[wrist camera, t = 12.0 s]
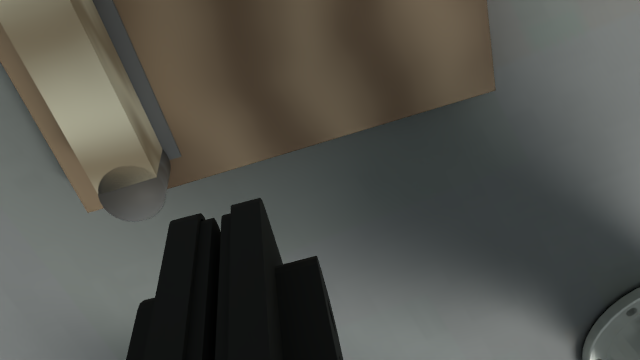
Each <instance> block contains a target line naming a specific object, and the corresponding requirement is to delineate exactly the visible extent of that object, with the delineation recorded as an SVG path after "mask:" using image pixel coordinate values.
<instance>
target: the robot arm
mask: <svg viewBox="0 0 640 360" xmlns="http://www.w3.org/2000/svg"><path fill="white" fill-rule="evenodd" d="M126 360H343V356H342V352H341V347H340V343H339V338H338V333H337V329H336V325H335V320H334V316H333V312H332V308H331V304H330V300H329V296H328V293H327V289H326V285H325V282H324V278H323V275H322V271H321V267H320V264H319V261H318V258H317V256H314V257H310V258H306V259H302V260H298V261H295V262H291V263H287V264H283V263H282V260H281V257H280V253H279V250H278V247H277V244H276V241H275V238H274V235H273V232H272V229H271V225H270V222H269V219H268V216H267V213H266V210H265V207H264V204H263V201H262V199H261V198H258V199H254V200H250V201H246V202H242V203H238V204H234V205H232V206H231V214H227V215H223V216H222V219H221V232H220V229H219V226H218V224H217V222H216V220H215V219H214V218H211V219H207V220H205V218H204V216H203V215H202V214H201V213H200V214H196V215H192V216H188V217H184V218H180V219H176V220H172V221H171V222H170V224H169V229H168V234H167V240H166V245H165V250H164V255H163V260H162V265H161V270H160V275H159V281H158V286H157V291H156V296H155V298H151V299H148V300H144V301H142V302H141V303H140V305H139V308H138V310H137V315H136V319H135V323H134V328H133V332H132V336H131V341H130V345H129V350H128V354H127V358H126ZM582 360H640V287H639V288H637V289H635V290H634V291H632V292H630V293H629V294H627V295H625V296H623V297H622V298H621V299H619V300H618V301H617V302H615V303H614V304H613V305H612V306H610V307H609V308H608V309H607V310H606V311H605V312H604V313H603V314H602V315H601V316H600V317H599V319H598V320H597V321H596V323H595V324H594V325H593V327H592V328H591V330H590V332H589V334H588V336H587V338H586V340H585V344H584V347H583V353H582Z"/></svg>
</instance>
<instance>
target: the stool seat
mask: <svg viewBox="0 0 640 360" xmlns="http://www.w3.org/2000/svg"><path fill="white" fill-rule="evenodd" d="M92 1H93V3H94V5H95V7H96V9H97V11H98V14H99V16H100V18H101V20H102V22H103V24H104V26H105V28H106V31H107V33H108V35H109V37H110V39H111V41H112V43H113V45H114V47H115V50H116V52H117V54H118V56H119V58H120V60H121V62H122V64H123V67H124V69H125V71H126V73H127V75H128V77H129V79H130V81H131V84H132V86H133V88H134V90H135V92H136V94H137V96H138V98H139V100H140V103H141V105H142V107H143V109H144V111H145V113H146V115H147V117H148V120H149V122H150V124H151V126H152V128H153V130H154V132H155V134H156V136H157V139H158V141H159V143H160V145H161V147H162V149H163V150H164V151H165V153H166V154H167V156H168V158H169V160H170V165H171V170H170V176H169V181H168V187H167V189H169V188H172V187H176V186H179V185H182V184H186V183H189V182H192V181H196V180H199V179H202V178H206V177H209V176H212V175H216V174H219V173H222V172H226V171H229V170H232V169H236V168H239V167H242V166H246V165H249V164H252V163H256V162H259V161H262V160H266V159H269V158H272V157H276V156H279V155H282V154H286V153H289V152H292V151H296V150H299V149H302V148H306V147H309V146H312V145H316V144H319V143H322V142H325V141H329V140H332V139H335V138H339V137H342V136H345V135H349V134H352V133H355V132H359V131H362V130H365V129H369V128H372V127H375V126H379V125H382V124H385V123H389V122H392V121H395V120H399V119H402V118H405V117H409V116H412V115H415V114H419V113H422V112H425V111H429V110H432V109H435V108H439V107H442V106H445V105H449V104H452V103H455V102H459V101H462V100H465V99H469V98H472V97H475V96H479V95H482V94H485V93H489V92H492V91H495V90H496V89H495V79H494V69H493V59H492V49H491V39H490V29H489V19H488V9H487V0H92ZM0 62H1V63H2V65H3V67H4V69H5V70H6V72H7V74H8V76H9V77H10V79H11V81H12V82H13V84H14V86H15V88H16V89H17V91H18V93H19V95H20V96H21V98H22V100H23V102H24V103H25V105H26V107H27V108H28V110H29V112H30V114H31V115H32V117H33V119H34V121H35V122H36V124H37V126H38V127H39V129H40V131H41V133H42V134H43V136H44V138H45V140H46V141H47V143H48V145H49V147H50V148H51V150H52V152H53V153H54V155H55V157H56V159H57V160H58V162H59V164H60V166H61V167H62V169H63V171H64V172H65V174H66V176H67V178H68V179H69V181H70V183H71V185H72V186H73V188H74V190H75V192H76V193H77V195H78V197H79V198H80V200H81V202H82V204H83V205H84V207H85V209H86V211H87V212H88V213H89V212H93V211H96V210H99V209H103V208H104V207H103V206H102V204H101V203H100V200H99V197H98V193H97V192H96V190H95V188H94V186H93V185H92V183H91V181H90V179H89V178H88V176H87V174H86V172H85V171H84V169H83V167H82V165H81V164H80V162H79V160H78V158H77V157H76V155H75V153H74V151H73V149H72V148H71V146H70V144H69V142H68V141H67V139H66V137H65V135H64V134H63V132H62V130H61V128H60V127H59V125H58V123H57V121H56V120H55V118H54V116H53V114H52V112H51V111H50V109H49V107H48V105H47V104H46V102H45V100H44V98H43V97H42V95H41V93H40V91H39V90H38V88H37V86H36V84H35V83H34V81H33V79H32V77H31V76H30V74H29V72H28V70H27V68H26V67H25V65H24V63H23V61H22V60H21V58H20V56H19V54H18V53H17V51H16V49H15V47H14V46H13V44H12V42H11V40H10V39H9V37H8V35H7V33H6V32H5V30H4V28H3V26H2V24H1V23H0Z"/></svg>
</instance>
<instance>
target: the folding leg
mask: <svg viewBox="0 0 640 360" xmlns="http://www.w3.org/2000/svg"><path fill="white" fill-rule="evenodd" d="M0 23H1V24H2V26H3V28H4V30H5V32H6V33H7V35H8V37H9V39H10V40H11V42H12V44H13V46H14V47H15V49H16V51H17V53H18V54H19V56H20V58H21V60H22V61H23V63H24V65H25V67H26V68H27V70H28V72H29V74H30V76H31V77H32V79H33V81H34V83H35V84H36V86H37V88H38V90H39V91H40V93H41V95H42V97H43V98H44V100H45V102H46V104H47V105H48V107H49V109H50V111H51V112H52V114H53V116H54V118H55V120H56V121H57V123H58V125H59V127H60V128H61V130H62V132H63V134H64V135H65V137H66V139H67V141H68V142H69V144H70V146H71V148H72V149H73V151H74V153H75V155H76V157H77V158H78V160H79V162H80V164H81V165H82V167H83V169H84V171H85V172H86V174H87V176H88V178H89V179H90V181H91V183H92V185H93V186H94V188H95V190H96V192H97V193H98V197H99V200H100V203H101V204H102V206H103V207H104V209H105V210H106V211H107V212H108V213H110V214H111V215H113V216H114V217H116V218H119V219H121V220H125V221H132V222H135V221H143V220H147V219H149V218H151V217H153V216H155V215H156V214H157V213H158V212H159V211H160V210H161V209H162V207H163V205H164V202H165V198H166V192H167V187H168V181H169V176H170V170H171V165H170V160H169V158H168V156H167V154H166V153H165V151H164V150H163V149H162V147H161V145H160V143H159V141H158V139H157V136H156V134H155V132H154V130H153V128H152V126H151V124H150V122H149V120H148V117H147V115H146V113H145V111H144V109H143V107H142V105H141V103H140V100H139V98H138V96H137V94H136V92H135V90H134V88H133V86H132V84H131V81H130V79H129V77H128V75H127V73H126V71H125V69H124V67H123V64H122V62H121V60H120V58H119V56H118V54H117V52H116V50H115V47H114V45H113V43H112V41H111V39H110V37H109V35H108V33H107V31H106V28H105V26H104V24H103V22H102V20H101V18H100V16H99V14H98V11H97V9H96V7H95V5H94V3H93V1H92V0H0Z"/></svg>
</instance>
